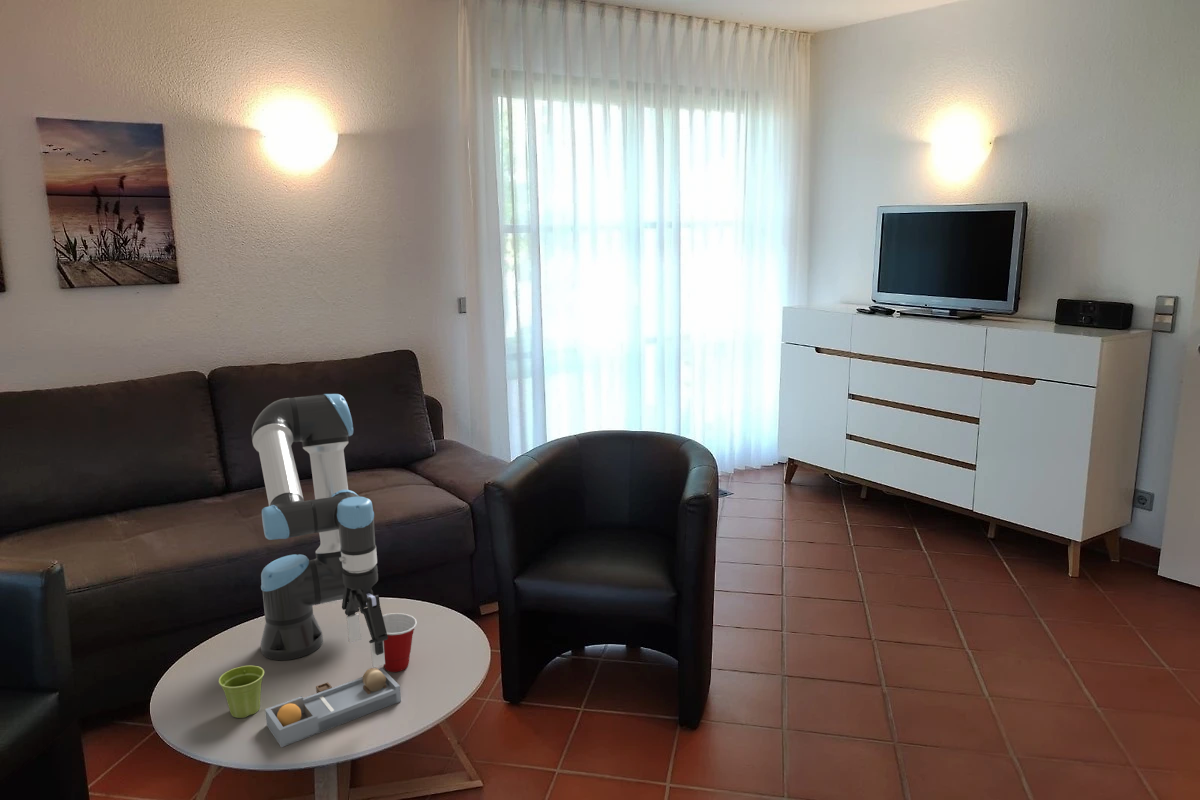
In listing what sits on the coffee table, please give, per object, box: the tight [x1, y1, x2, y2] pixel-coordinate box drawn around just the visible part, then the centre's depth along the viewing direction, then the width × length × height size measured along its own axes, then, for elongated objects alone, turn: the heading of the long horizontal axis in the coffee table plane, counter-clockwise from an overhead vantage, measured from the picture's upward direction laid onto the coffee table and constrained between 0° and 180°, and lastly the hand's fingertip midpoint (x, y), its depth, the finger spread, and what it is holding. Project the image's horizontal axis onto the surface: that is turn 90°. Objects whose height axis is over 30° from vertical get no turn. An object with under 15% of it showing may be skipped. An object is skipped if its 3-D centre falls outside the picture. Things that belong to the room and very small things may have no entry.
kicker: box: [362, 667, 387, 694], centre depth 191 cm, size 3×4×4 cm
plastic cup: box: [382, 612, 418, 673], centre depth 205 cm, size 11×11×12 cm
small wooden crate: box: [315, 682, 333, 694], centre depth 193 cm, size 3×3×3 cm
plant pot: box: [218, 665, 265, 719], centre depth 187 cm, size 9×9×9 cm
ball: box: [277, 703, 301, 727], centre depth 181 cm, size 5×5×5 cm
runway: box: [264, 667, 402, 748], centre depth 186 cm, size 10×27×4 cm, turn 128°
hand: (366, 652), depth 190 cm, fingers open, 13 cm apart
